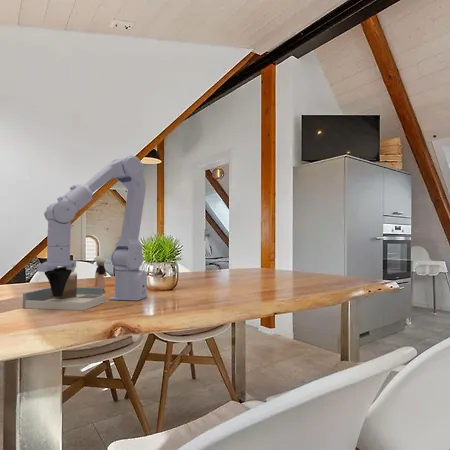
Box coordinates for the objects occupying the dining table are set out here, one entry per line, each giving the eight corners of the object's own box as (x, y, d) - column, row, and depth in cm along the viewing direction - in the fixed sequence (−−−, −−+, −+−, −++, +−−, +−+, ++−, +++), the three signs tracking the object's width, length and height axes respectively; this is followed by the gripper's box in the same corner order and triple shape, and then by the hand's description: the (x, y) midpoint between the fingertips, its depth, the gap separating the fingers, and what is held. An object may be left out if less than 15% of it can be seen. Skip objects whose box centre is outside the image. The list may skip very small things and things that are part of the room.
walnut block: (76, 296, 106) (76, 280, 106) (62, 298, 101) (62, 281, 102) (64, 295, 108) (65, 278, 108) (50, 297, 104) (51, 280, 104)
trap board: (106, 301, 110) (106, 288, 110) (83, 310, 96) (83, 295, 97) (52, 299, 112) (52, 286, 112) (22, 308, 99) (23, 293, 99)
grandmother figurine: (96, 290, 131) (97, 255, 131) (108, 290, 131) (108, 255, 131) (90, 294, 123) (91, 256, 123) (102, 294, 123) (103, 256, 124)
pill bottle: (70, 297, 117) (70, 266, 117) (54, 296, 118) (55, 266, 118) (80, 294, 122) (80, 265, 123) (65, 293, 123) (66, 264, 124)
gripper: (60, 245, 108) (59, 291, 108) (27, 246, 94) (26, 300, 93) (83, 245, 107) (82, 292, 107) (53, 246, 93) (51, 301, 92)
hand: (57, 296), depth 100 cm, fingers closed
